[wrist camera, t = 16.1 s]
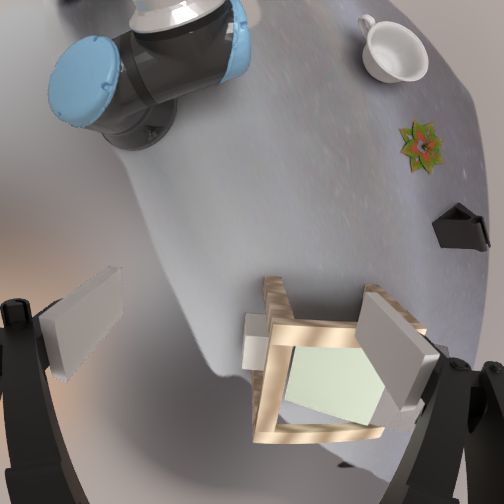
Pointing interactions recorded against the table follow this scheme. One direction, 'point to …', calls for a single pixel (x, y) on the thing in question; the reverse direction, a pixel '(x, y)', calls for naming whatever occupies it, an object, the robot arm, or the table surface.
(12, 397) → the robot arm
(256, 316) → the white rectangular block
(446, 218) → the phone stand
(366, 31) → the teacup
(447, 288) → the table surface
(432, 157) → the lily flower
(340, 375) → the trapdoor
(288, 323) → the trapdoor frame
